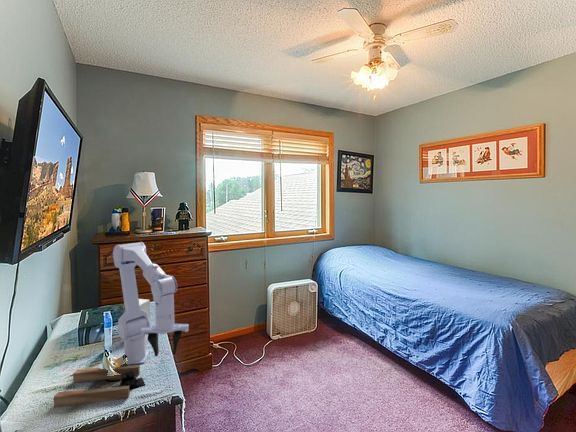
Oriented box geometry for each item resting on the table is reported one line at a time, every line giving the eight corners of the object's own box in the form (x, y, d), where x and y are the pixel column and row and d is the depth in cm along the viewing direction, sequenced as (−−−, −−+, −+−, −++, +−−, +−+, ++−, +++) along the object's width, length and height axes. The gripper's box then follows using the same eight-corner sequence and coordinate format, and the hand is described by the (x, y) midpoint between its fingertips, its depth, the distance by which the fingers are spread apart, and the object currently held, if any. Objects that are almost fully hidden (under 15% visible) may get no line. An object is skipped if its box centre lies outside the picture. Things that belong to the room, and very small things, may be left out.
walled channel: (75, 379, 103) (75, 370, 103) (139, 372, 107) (139, 363, 107) (53, 407, 90) (53, 396, 90) (128, 398, 94) (127, 387, 94)
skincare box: (140, 329, 142) (139, 298, 141) (151, 331, 140) (150, 299, 139) (126, 337, 134) (125, 304, 133) (138, 339, 132) (137, 305, 131)
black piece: (106, 401, 94) (106, 386, 93) (105, 389, 100) (104, 375, 99) (150, 386, 101) (150, 373, 100) (146, 375, 107) (145, 363, 106)
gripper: (137, 320, 96) (139, 362, 97) (186, 316, 99) (187, 357, 100) (143, 312, 103) (144, 351, 104) (188, 308, 106) (189, 347, 107)
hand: (165, 353), depth 102 cm, fingers open, 5 cm apart
